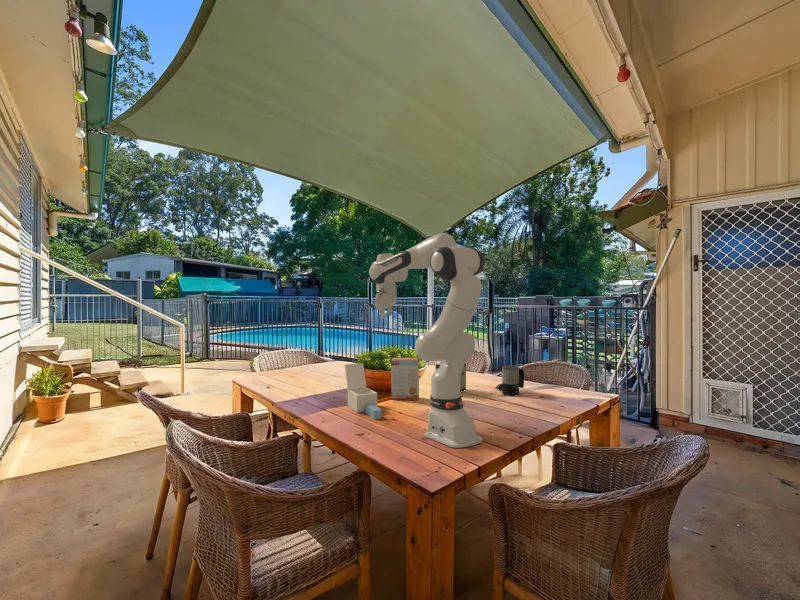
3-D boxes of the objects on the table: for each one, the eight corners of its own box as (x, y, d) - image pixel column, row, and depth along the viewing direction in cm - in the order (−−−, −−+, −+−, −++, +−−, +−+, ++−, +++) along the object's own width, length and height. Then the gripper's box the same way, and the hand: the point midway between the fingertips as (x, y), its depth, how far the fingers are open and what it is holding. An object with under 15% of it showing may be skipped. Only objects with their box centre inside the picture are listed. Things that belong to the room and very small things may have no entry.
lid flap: (363, 362, 189) (362, 363, 189) (344, 364, 184) (344, 364, 185) (366, 386, 185) (366, 386, 186) (347, 389, 181) (347, 389, 181)
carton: (377, 410, 175) (377, 392, 175) (357, 413, 170) (357, 395, 170) (366, 403, 186) (366, 387, 185) (347, 406, 181) (347, 389, 181)
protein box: (435, 393, 206) (435, 364, 206) (450, 387, 218) (450, 360, 218) (451, 396, 199) (451, 366, 199) (466, 390, 211) (466, 362, 211)
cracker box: (419, 397, 197) (419, 357, 197) (418, 400, 191) (418, 359, 191) (392, 396, 198) (392, 357, 198) (391, 399, 192) (390, 358, 192)
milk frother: (514, 397, 196) (514, 369, 196) (487, 392, 207) (487, 365, 207) (526, 392, 207) (526, 365, 206) (500, 387, 217) (500, 362, 217)
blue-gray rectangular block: (381, 418, 163) (381, 409, 163) (374, 420, 162) (374, 410, 162) (372, 412, 172) (372, 403, 172) (365, 413, 170) (365, 404, 170)
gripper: (384, 290, 167) (385, 321, 169) (398, 285, 186) (399, 313, 188) (371, 290, 169) (372, 320, 171) (386, 285, 188) (387, 312, 190)
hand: (386, 316), depth 180 cm, fingers open, 8 cm apart
